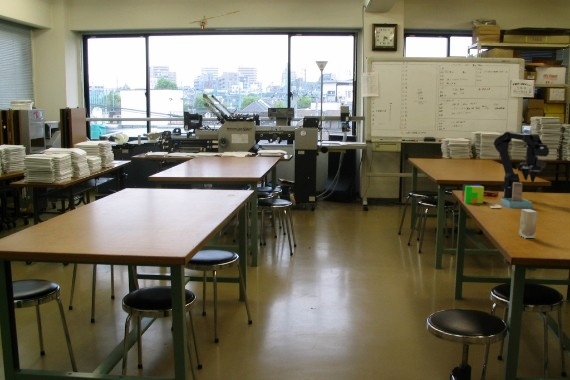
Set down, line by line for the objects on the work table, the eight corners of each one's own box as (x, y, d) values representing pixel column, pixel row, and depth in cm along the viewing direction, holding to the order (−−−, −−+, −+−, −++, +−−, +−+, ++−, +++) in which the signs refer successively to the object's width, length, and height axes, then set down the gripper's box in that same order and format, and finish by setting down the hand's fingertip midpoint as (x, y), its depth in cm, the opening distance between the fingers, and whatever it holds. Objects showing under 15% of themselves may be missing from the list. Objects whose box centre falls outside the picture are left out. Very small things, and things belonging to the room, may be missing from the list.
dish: (500, 203, 330) (501, 198, 330) (522, 204, 330) (522, 198, 330) (509, 207, 318) (509, 201, 318) (531, 207, 318) (532, 202, 318)
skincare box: (518, 236, 249) (520, 208, 247) (527, 235, 250) (530, 208, 248) (525, 239, 243) (528, 211, 241) (535, 239, 243) (537, 211, 241)
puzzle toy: (478, 201, 342) (479, 184, 340) (482, 204, 332) (483, 187, 330) (461, 200, 343) (462, 184, 341) (465, 203, 333) (466, 186, 331)
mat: (496, 203, 333) (496, 202, 333) (523, 204, 333) (523, 203, 333) (508, 209, 315) (508, 208, 315) (536, 209, 315) (536, 208, 315)
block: (511, 203, 327) (513, 182, 325) (519, 204, 326) (521, 182, 324) (512, 204, 322) (514, 183, 321) (520, 205, 321) (522, 183, 320)
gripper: (552, 156, 326) (549, 183, 328) (537, 154, 344) (535, 179, 346) (532, 156, 326) (530, 183, 328) (519, 153, 344) (517, 179, 346)
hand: (529, 181), depth 337 cm, fingers open, 9 cm apart
